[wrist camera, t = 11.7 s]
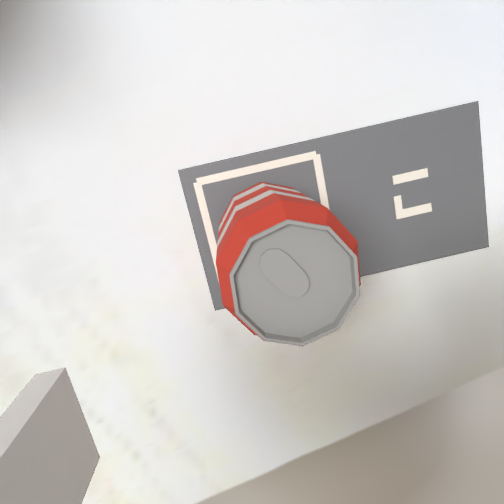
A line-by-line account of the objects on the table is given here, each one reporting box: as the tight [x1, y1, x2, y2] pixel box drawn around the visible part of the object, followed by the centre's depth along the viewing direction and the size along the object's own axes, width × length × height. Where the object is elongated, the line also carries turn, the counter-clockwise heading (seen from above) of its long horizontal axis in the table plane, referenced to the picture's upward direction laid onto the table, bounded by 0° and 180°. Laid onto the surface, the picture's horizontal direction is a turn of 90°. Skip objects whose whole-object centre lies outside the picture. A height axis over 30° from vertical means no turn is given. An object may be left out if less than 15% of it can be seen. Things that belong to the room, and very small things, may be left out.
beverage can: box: [216, 182, 361, 346], centre depth 21 cm, size 6×6×12 cm
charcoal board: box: [178, 101, 489, 310], centre depth 27 cm, size 20×10×1 cm, turn 103°
